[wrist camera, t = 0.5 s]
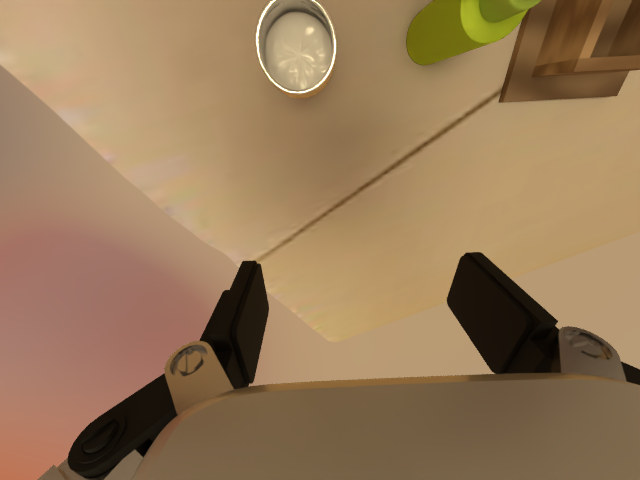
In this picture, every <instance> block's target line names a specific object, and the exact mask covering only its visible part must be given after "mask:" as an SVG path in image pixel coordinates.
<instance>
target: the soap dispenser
mask: <svg viewBox="0 0 640 480" xmlns="http://www.w3.org/2000/svg"><path fill="white" fill-rule="evenodd" d="M540 1H541V0H433V1H432V2H431V3H430V4H429V5H427V6H426V7H425V8H424V9H423V10H422V11H421V12H419V13H418V14H417V16H416V17H415V18H414V19H413V21H412V23H411V25H410V27H409V30H408V33H407V40H406V45H407V51H408V54H409V56H410V57H411V59H412V60H413V61H414V62H415V63H417V64H420V65H429V64H432V63H435V62H438V61H441V60H444V59H447V58H450V57H453V56H456V55H458V54H461V53H464V52H467V51H470V50H473V49H476V48H479V47H481V46H484V45H487V44H490V43H493V42H496V41H498V40H500V39H502V38H504V37H505V36H507V35H508V34H509V33H510V32H511V31H513V30H514V29H515V28H516V26H517V25H518V24H519V23H520V22H521V20H522V19H523V17H524V16H525V14H526V12H527V11H528V9H530V8H532V7H533V6H535V5H536V4H538V3H539V2H540Z"/></svg>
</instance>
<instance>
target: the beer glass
mask: <svg viewBox="0 0 640 480" xmlns="http://www.w3.org/2000/svg"><path fill="white" fill-rule="evenodd" d="M255 47H256V53H257V57H258V61H259V63H260V66H261V68H262V70H263V72H264V73H265V75H266V76H267V78H268V79H269V80H270V81H271V82H272V84H273V85H274V86H275V87H276V88H277V89H278V90H280V91H281V92H282V93H284V94H286V95H288V96H290V97H293V98H300V99H302V98H308V97H311V96H314V95H315V94H317V93H319V92H320V91H321V90H322V89H323V88H324V87H325V86H326V84H327V83H328V81H329V80H330V78H331V76H332V73H333V70H334V67H335V62H336V54H337V36H336V31H335V27H334V23H333V21H332V18H331V16H330V14H329V12H328V11H327V9H326V8H325V6H324V5H323V4H322V3H321V2H320V1H319V0H269V2H268V3H267V4H266V5H265V7H264V8H263V10H262V12H261V14H260V16H259V19H258V22H257V26H256V32H255Z"/></svg>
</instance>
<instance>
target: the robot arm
mask: <svg viewBox="0 0 640 480" xmlns="http://www.w3.org/2000/svg"><path fill="white" fill-rule="evenodd" d="M447 304H448V306H449V307H450V309H451V311H452V312H453V314H454V315H455V317H456V318H457V319H458V321H459V323H460V324H461V326H462V327H463V329H464V330H465V332H466V333H467V335H468V336H469V338H470V339H471V341H472V342H473V344H474V345H475V347H476V348H477V350H478V351H479V353H480V354H481V356H482V357H483V359H484V360H485V362H486V363H487V365H488V366H489V368H490V369H491V371H492V372H494V373H495V374H485V375H484V374H483V375H455V376H431V377H404V378H381V379H380V378H379V379H358V380H336V381H314V382H297V383H281V384H267V385H259V386H250V387H248V385H249V383H253V381H254V378H255V373H256V368H257V363H258V359H259V354H260V350H261V345H262V340H263V335H264V331H265V327H266V322H267V317H268V311H269V305H268V300H267V294H266V289H265V284H264V279H263V274H262V268H261V264H257V262H256V261H243V262H242V264H241V266H240V268H239V270H238V272H237V275H236V277H235V279H234V281H233V284H232V286H231V288H230V290H225V291H224V292H223V293H222V295H221V297H220V299H219V302H218V303H217V305H216V307H215V310H214V312H213V314H212V316H211V318H210V320H209V322H208V324H207V326H206V328H205V330H204V332H203V334H202V336H201V339H200V341H194V342H190V343H188V344H186V345H183V346H182V347H180V348H179V349H177V350H176V351H175V352H174V353H173V354H172V355H171V356H170V358H169V359H168V361H167V362H166V365H165V368H164V369H165V373H164V374H163V375H161V376H160V377H158V378H157V379H155V380H154V381H152V382H151V383H149V384H147V385H146V386H145V387H143V388H142V389H140V390H138V391H137V392H135V393H134V394H133V395H131V396H129V397H128V398H126V399H125V400H123V401H122V402H121V403H119V404H117V405H116V406H114V407H113V408H112V409H110V410H109V411H107V412H106V413H104V414H103V415H101V416H99V417H98V418H97V419H95V420H94V421H93V422H92V423H90V424H89V425H88V426H87V427H86V428H85V429H84V430H83V431H82V432H81V433H80V435H79V436H78V437H77V439H76V440H75V442H74V443H73V445H72V447H71V450H70V452H69V456H68V458H67V459H66V460H65V461H64V462H62V463H61V464H60V465H59V466H58V467H56V466H55V465H53V466H52V467H51V468H50V469H49V470H48V471H46V472H45V473H44V474H43V475H42V476H41V477H40V478H39V479H38V480H640V370H639V369H637V368H635V367H633V366H630V365H628V364H626V363H623V362H621V361H620V358H619V355H618V353H617V351H616V350H615V349H614V348H613V347H612V346H611V345H610V344H609V343H608V342H606V341H605V340H603V339H602V338H600V337H599V336H597V335H595V334H593V333H591V332H589V331H586V330H584V329H580V328H577V327H569V326H568V327H562V328H561V329H560V330H559V329H558V328H557V327H556V326H555V325H556V323H557V322H558V321H557V320H556V319H555V318H554V317H553V316H552V315H551V314H549V313H548V312H547V311H546V310H545V309H544V308H543V307H542V306H540V305H539V304H538V303H537V302H536V301H535V300H534V299H533V298H531V297H530V296H529V295H528V294H527V293H526V292H525V291H524V290H523V289H521V288H520V287H519V286H518V285H517V284H516V283H515V282H514V281H512V280H511V279H510V278H509V277H508V276H507V275H506V274H505V273H503V272H502V271H501V270H500V269H499V268H498V267H497V266H496V265H495V264H493V263H492V262H491V261H490V260H489V259H488V258H487V257H486V256H484V255H483V254H482V253H480V252H473V253H465V254H464V256H462V257H461V258H460V261H459V264H458V267H457V270H456V273H455V276H454V279H453V282H452V285H451V288H450V291H449V294H448V297H447Z"/></svg>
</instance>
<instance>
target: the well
mask: <svg viewBox="0 0 640 480" xmlns="http://www.w3.org/2000/svg"><path fill="white" fill-rule="evenodd" d="M631 70H640V0H541V1H540V2H539V3H538V4H536V5H535V6H533V7H532V8H530V9H528V11H527V12H526V14H525V16H524V17H523V19H522V23H521V26H520V30H519V33H518V37H517V40H516V44H515V47H514V51H513V54H512V58H511V61H510V64H509V68H508V71H507V75H506V78H505V82H504V85H503V89H502V92H501V96H500V99H499V102H515V101H533V100H552V99H571V98H590V97H609V96H617V95H618V93H619V91H620V89H621V87H622V85H623V83H624V81H625V79H626V77H627V75H628V73H629V71H631Z"/></svg>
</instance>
